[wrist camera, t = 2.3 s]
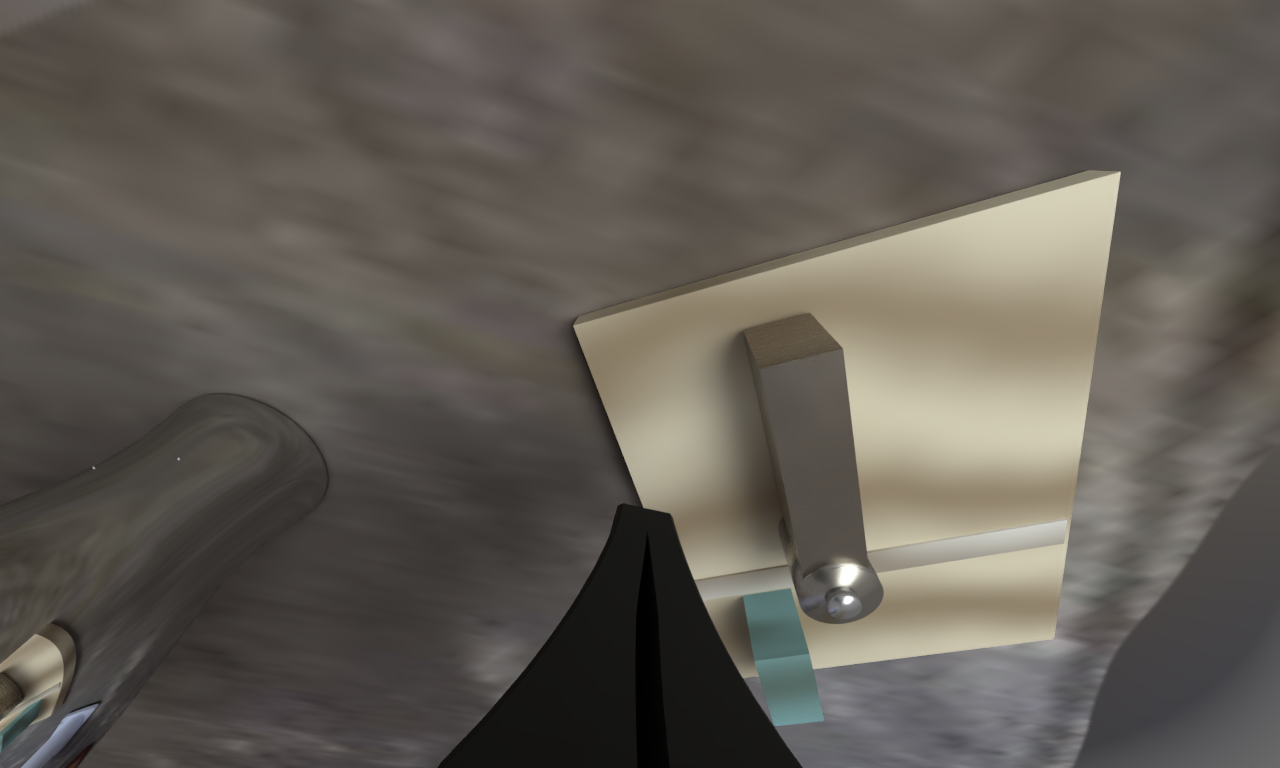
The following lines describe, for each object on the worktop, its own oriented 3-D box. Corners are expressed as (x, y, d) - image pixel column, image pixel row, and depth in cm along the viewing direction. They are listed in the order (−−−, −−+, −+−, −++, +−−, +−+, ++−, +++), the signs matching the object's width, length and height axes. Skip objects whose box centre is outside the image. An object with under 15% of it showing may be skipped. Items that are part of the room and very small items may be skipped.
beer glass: (373, 502, 19) (-290, 1287, 6) (246, 536, 21) (-530, 1240, 7) (264, 359, 16) (-1499, 1253, 3) (124, 409, 18) (-1527, 1184, 4)
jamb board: (1037, 617, 20) (1111, 710, 17) (708, 661, 23) (716, 749, 20) (1088, 170, 12) (1247, 175, 9) (578, 315, 15) (552, 362, 12)
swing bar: (852, 546, 17) (891, 629, 14) (783, 558, 18) (808, 640, 15) (820, 309, 13) (865, 355, 10) (732, 332, 14) (751, 382, 11)
